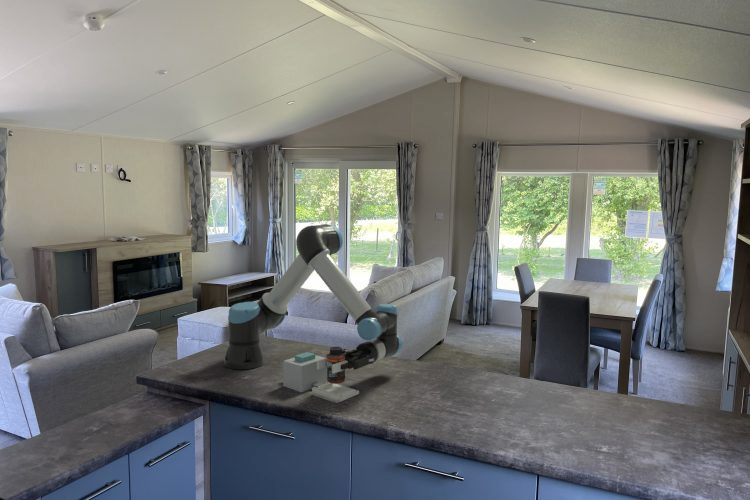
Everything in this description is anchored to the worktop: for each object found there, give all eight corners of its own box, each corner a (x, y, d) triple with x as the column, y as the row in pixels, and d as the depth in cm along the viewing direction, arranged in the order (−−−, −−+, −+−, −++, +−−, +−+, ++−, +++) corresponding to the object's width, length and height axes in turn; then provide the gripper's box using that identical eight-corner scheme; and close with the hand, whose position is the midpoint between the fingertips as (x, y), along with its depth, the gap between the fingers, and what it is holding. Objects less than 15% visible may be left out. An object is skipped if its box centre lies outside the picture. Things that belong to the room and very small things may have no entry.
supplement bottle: (346, 378, 180) (346, 345, 179) (343, 384, 174) (343, 350, 173) (328, 377, 181) (328, 345, 180) (325, 383, 175) (325, 350, 174)
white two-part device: (275, 383, 188) (275, 354, 187) (300, 375, 197) (300, 346, 196) (335, 403, 170) (335, 371, 169) (359, 393, 179) (360, 362, 178)
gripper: (391, 367, 186) (347, 385, 168) (350, 357, 197) (304, 372, 179) (391, 346, 185) (347, 361, 167) (350, 337, 197) (304, 350, 179)
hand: (325, 367), depth 173 cm, fingers closed on supplement bottle, 6 cm apart
